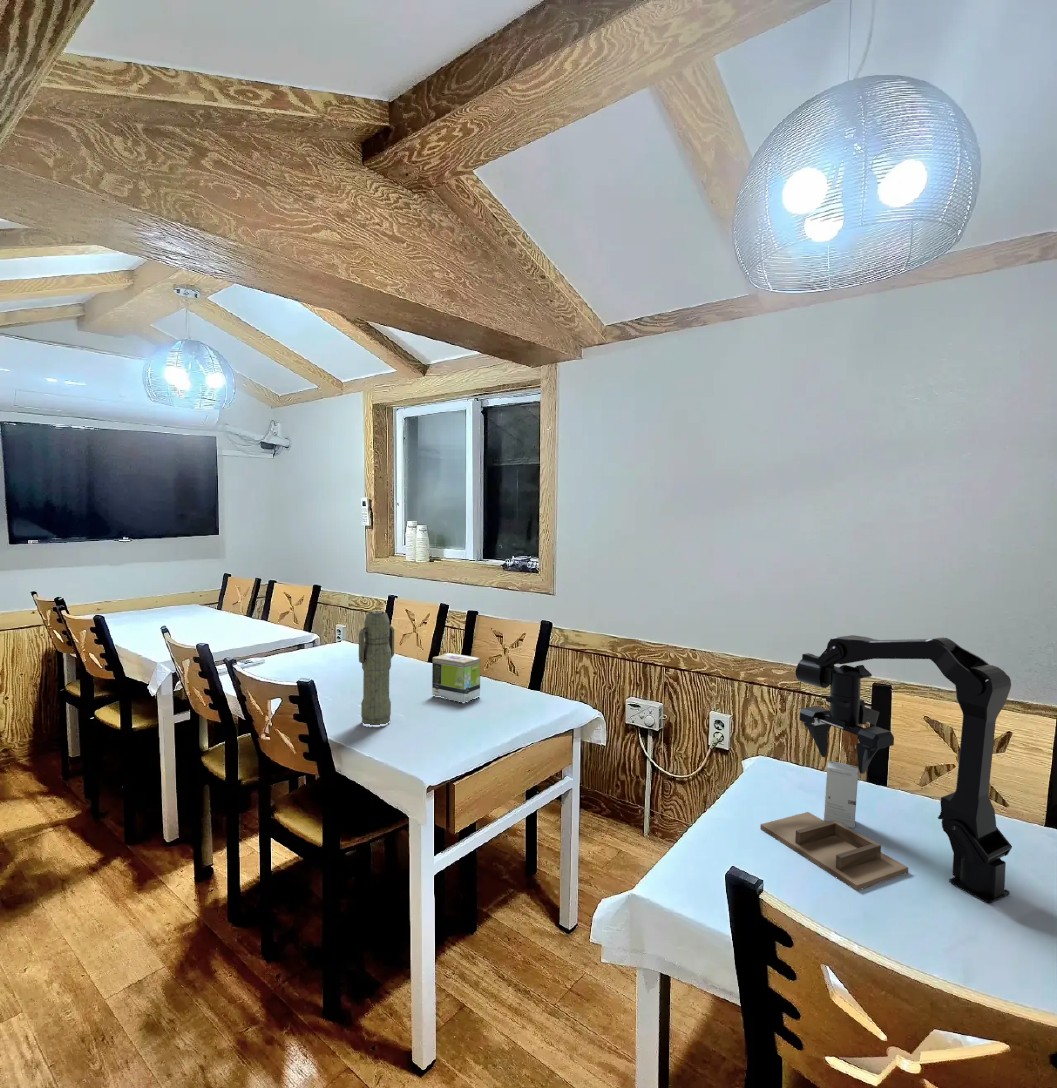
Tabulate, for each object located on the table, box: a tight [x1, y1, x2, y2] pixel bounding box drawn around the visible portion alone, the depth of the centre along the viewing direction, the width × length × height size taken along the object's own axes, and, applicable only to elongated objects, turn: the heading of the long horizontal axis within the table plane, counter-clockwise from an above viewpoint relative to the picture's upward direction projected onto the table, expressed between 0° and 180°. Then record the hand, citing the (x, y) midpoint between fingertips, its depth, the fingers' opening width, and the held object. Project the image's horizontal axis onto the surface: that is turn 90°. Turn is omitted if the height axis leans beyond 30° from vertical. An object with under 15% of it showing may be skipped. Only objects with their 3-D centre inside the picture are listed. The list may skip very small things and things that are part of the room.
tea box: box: [431, 652, 481, 702], centre depth 208 cm, size 15×10×15 cm, turn 58°
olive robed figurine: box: [358, 610, 395, 725], centre depth 179 cm, size 9×12×35 cm
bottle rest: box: [760, 811, 909, 891], centre depth 114 cm, size 22×14×4 cm, turn 24°
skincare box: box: [823, 760, 859, 829], centre depth 125 cm, size 6×4×12 cm
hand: (842, 764), depth 125 cm, fingers open, 9 cm apart
